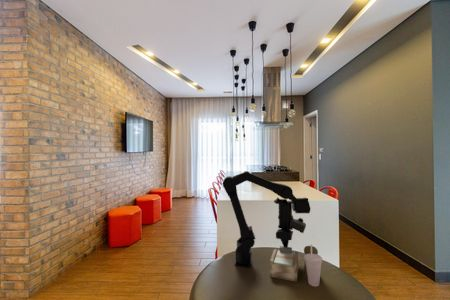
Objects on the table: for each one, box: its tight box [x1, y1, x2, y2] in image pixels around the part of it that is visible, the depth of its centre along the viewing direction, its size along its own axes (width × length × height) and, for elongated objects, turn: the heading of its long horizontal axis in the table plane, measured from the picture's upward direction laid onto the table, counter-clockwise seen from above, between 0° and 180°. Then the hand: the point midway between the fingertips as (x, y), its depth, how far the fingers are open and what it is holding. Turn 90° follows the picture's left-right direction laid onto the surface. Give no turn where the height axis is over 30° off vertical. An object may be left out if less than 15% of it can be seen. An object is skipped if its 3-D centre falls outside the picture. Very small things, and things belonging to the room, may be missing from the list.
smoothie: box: [303, 244, 324, 287], centre depth 80 cm, size 6×6×14 cm
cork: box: [303, 245, 319, 279], centre depth 86 cm, size 6×6×11 cm
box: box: [269, 248, 299, 283], centre depth 89 cm, size 10×12×6 cm
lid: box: [274, 245, 295, 267], centre depth 89 cm, size 7×12×3 cm, turn 159°
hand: (286, 248), depth 96 cm, fingers closed
